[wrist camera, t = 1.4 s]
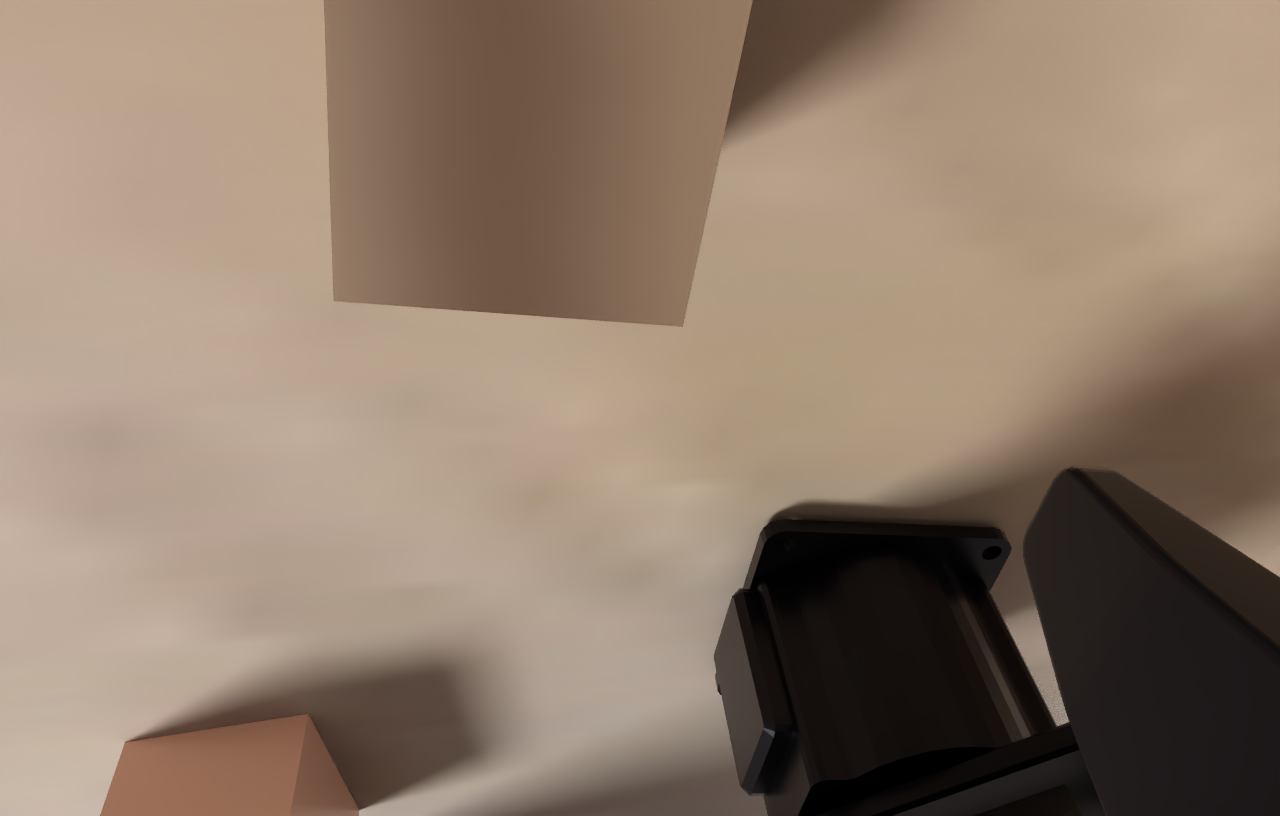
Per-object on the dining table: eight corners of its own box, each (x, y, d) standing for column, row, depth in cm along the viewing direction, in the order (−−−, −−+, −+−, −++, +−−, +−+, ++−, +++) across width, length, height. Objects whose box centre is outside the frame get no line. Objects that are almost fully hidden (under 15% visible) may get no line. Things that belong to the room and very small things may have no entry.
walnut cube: (695, -113, 16) (758, -26, 12) (645, 180, 19) (683, 326, 15) (368, -163, 15) (320, -88, 11) (370, 152, 18) (333, 301, 14)
